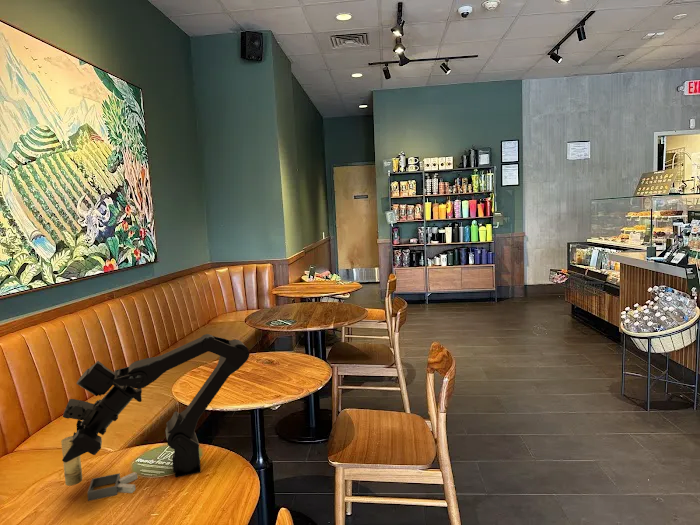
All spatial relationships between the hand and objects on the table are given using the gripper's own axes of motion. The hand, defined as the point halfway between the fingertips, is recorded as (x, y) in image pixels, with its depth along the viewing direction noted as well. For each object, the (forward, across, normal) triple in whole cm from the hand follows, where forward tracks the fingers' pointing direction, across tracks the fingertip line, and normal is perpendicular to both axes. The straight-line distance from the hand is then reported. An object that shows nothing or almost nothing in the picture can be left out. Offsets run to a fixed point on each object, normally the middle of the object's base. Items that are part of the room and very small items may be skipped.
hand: (65, 457), depth 112 cm
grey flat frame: (+1, +1, +15) cm, 15 cm away
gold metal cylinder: (+4, 0, +6) cm, 7 cm away
